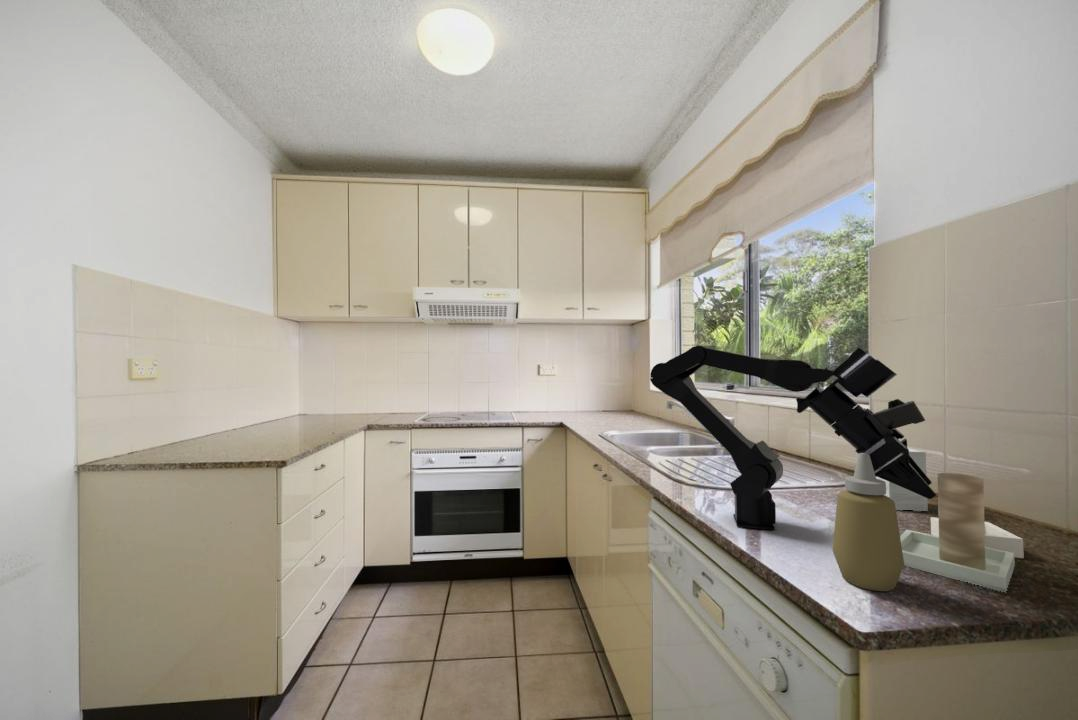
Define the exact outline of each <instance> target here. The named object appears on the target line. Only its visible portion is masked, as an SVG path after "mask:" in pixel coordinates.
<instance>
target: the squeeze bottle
mask: <svg viewBox="0 0 1078 720" xmlns="http://www.w3.org/2000/svg"><path fill="white" fill-rule="evenodd" d="M853 472H854V473H853V475H849V476H845V477H844V488H845V490H843V491H841V492H839V493H837V499H836V509H835V519H834V527H833V529H834V530H833V531H834V532H833V539H832V540H833V541H832V552H833V555H834V558H835V561H836V564H837V565H838V566H837V567H838V568H839V571H840V574H841V576H842V578H843V579H844V580H845V581H846V582H848V583H850V584H852V585H853V586H856V587H859V588H862V589H865V590H871V591H876V592H890V591H893V590H894V589H895V588H896V586H897V583H898V580H899V579H900V576H901V573H902V571H903V569H904V567H905V566H904V559H903V553H902V546H901V540H900V536H901V533H900V528H899V527H900V526H899V522H898V521H899V520H898V514H897V510H896V507H895V503H894V501H893V500H892V499H891V498H889V497H887V496H885V495H884V494H886V483H885V481H883V480H880V479H876V476H875V473H874V469H873V466H872V462H871V459H870V455H869V454H866V453H859V454H858V457H857V460H856V465H855V469H854V471H853Z"/></svg>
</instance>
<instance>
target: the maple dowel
mask: <svg viewBox="0 0 1078 720" xmlns="http://www.w3.org/2000/svg"><path fill="white" fill-rule="evenodd" d="M984 487H985V486H984V479H983V478H981V477H979V476H973V475H969V474H963V473H953V472H951V473H949V472H939V473H937V509H938V512H937V513H938V517H937V518H939V558H940V560H943V561H947V562H951V563H955V564H959V565H963V566H967V567H971V568H975V569H979V570H985V569H986V562H985V523H984V522H985V496H984V495H985V494H984V493H985V491H984V490H985V489H984Z"/></svg>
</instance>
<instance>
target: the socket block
mask: <svg viewBox="0 0 1078 720" xmlns="http://www.w3.org/2000/svg"><path fill="white" fill-rule="evenodd" d="M984 523H985V547H989V548H994V549H998V550H1003V551H1007V552H1012V553H1014V559H1024V557H1025V556H1024V554H1025V553H1024V539H1023V538H1021V537H1019V536H1017V535H1015V534H1014V533H1012V532H1010V531H1007V530H1005V529H1003V528H1001V527H999V526H997V525H995V524H993V523H991V522H989V521H984ZM930 535H934V536H939V517H933V516H932V517H931V516H930Z"/></svg>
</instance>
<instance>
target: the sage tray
mask: <svg viewBox="0 0 1078 720" xmlns="http://www.w3.org/2000/svg"><path fill="white" fill-rule="evenodd" d="M900 540H901V546H902V553H903V559H904V567H907V568H908V567H909V568H910V569H911V568H912V569H916V570H918V571H923V572H925V573H930V574H934V575H937V576H938V575H939V576H941V577H945V578H948V579H952V580H955V581H959V580H960V581H959V582H963V581H964V583H966V582H968V584H970V583H971V585H974V584H975V586H977V585H979V586H978V587H981V586H983V587H982V588H985V587H987V588H986V589H989V588H990V589H989V590H992V589H993V591H996V590H997V592H1000V591H1001V592H1000V593H1003V592H1005V593H1004V594H1007V592H1006V591H1008V589H1007V588H1009V586H1010V583H1009V582H1011V580H1010V579H1011V578H1012V577H1013V572H1014V570H1015V566H1016V565H1015V557H1014V553H1012V552H1007V551H1003V550H998V549H994V548H989V547H985V562H986V569H985V570H979V569H975V568H971V567H967V566H963V565H959V564H955V563H951V562H947V561H943V560H940V558H939V536H934V535H932V534H931V533H930V534H929V533H925V532H919V531H916V530H910V529H905V531H904V532H903V533H901V534H900ZM1008 585H1009V586H1008Z"/></svg>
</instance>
